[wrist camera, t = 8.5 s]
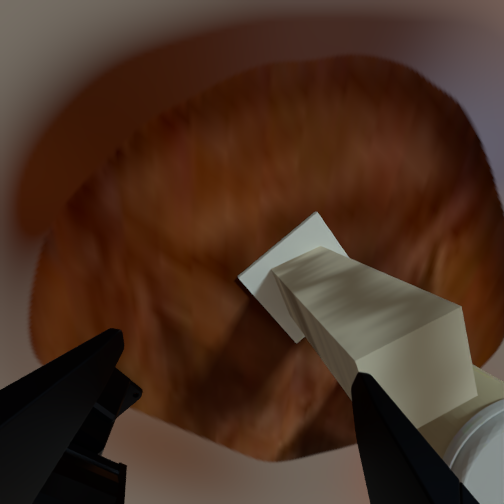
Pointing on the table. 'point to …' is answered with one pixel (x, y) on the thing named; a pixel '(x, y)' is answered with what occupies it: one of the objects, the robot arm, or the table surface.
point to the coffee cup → (474, 439)
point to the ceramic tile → (289, 247)
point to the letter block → (380, 332)
